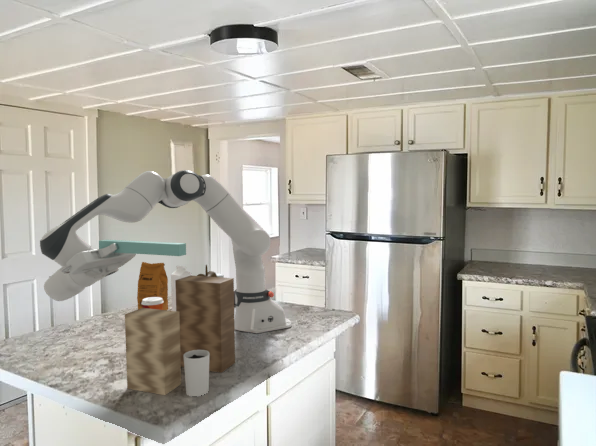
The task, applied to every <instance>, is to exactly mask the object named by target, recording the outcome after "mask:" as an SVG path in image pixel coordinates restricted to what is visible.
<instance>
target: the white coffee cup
mask: <svg viewBox="0 0 596 446" xmlns="http://www.w3.org/2000/svg"><path fill="white" fill-rule="evenodd" d="M209 355H210V354H209V352H208V351H206V350H192V351H188V352H186V353H185V354H184V367H183V369H184V381H185V395H187V396H188V395H189V396H188V397H192V396H197V397H201V395H202V396H205V395H207V394H208V393H209V392H208V391H209V389H210V388H209V385H210V384H209V383H210V371H209ZM206 393H207V394H206ZM204 394H205V395H204Z"/></svg>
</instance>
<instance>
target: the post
mask: <svg viewBox="0 0 596 446" xmlns="http://www.w3.org/2000/svg"><path fill="white" fill-rule="evenodd" d="M234 280H235V278H234V277H224V278H222V277H207V276H197V275H193V274H192V275H191V276H187V277H184V278H181V279H178V280H175V283H176V311H179V318H180V356H181V368H184V354H185V353H186V352H188V351H192V350H206V351H208V352H209V354H210V355H209V372H212V373H213V372H215V373H224V372H225V371H226V370H228V369H229V368H230V367H232V366H233V365H235V364H236V343H235V342H236V340H235V338H236V336H235V333H236V332H235V331H236V329H235V326H234V320H235V304H234V291H235V285H234V284H235V283H234V282H235V281H234Z"/></svg>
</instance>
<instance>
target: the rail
mask: <svg viewBox="0 0 596 446" xmlns="http://www.w3.org/2000/svg"><path fill="white" fill-rule="evenodd" d="M114 243H117V244H118V246H119V249H118V250H117V251H115V253H132V254H136V255H151V256H166V257H167V256H169V257H170V256H171V257H182V256H186V255H187V243H185V242H166V241H146V240H145V241H144V240H142V241H141V240H125V239H122V240H120V239H102V240H98V249H102V248H105V247H108V246H110V245H111V244H114Z"/></svg>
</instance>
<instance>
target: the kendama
mask: <svg viewBox="0 0 596 446" xmlns="http://www.w3.org/2000/svg"><path fill="white" fill-rule="evenodd" d="M204 270H205V272H204V273H205V274H204V273H198V274H196V276H207V277H217V275H216V274H217V273H216V272H215V271H214V270H213V271H212V270H210V271H209V270H208V264H205V269H204Z"/></svg>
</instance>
